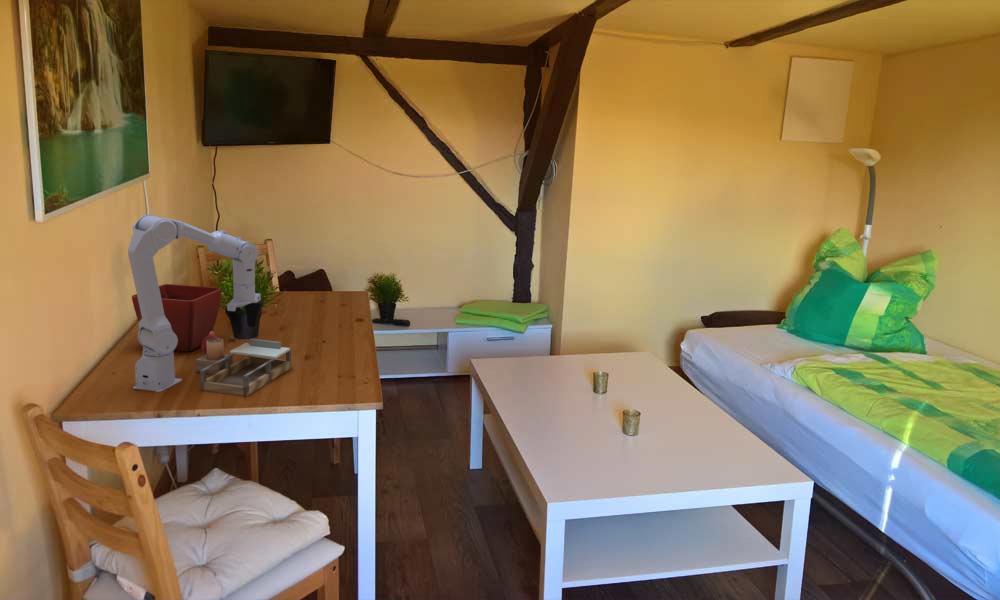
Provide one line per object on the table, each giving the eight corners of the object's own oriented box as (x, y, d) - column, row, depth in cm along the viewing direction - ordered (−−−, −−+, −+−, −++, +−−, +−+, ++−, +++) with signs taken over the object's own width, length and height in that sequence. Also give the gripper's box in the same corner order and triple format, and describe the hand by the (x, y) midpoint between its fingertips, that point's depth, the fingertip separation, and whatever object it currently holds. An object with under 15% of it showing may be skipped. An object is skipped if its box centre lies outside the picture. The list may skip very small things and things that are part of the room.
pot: (216, 361, 201) (215, 343, 200) (203, 358, 202) (202, 341, 201) (227, 356, 205) (226, 339, 204) (214, 354, 206) (214, 337, 205)
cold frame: (247, 397, 187) (246, 376, 186) (200, 391, 189) (200, 370, 188) (291, 368, 210) (290, 349, 209) (249, 363, 212) (249, 344, 211)
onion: (217, 361, 213) (217, 335, 211) (198, 360, 213) (197, 333, 211) (225, 355, 218) (225, 329, 216) (206, 354, 218) (205, 328, 217)
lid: (275, 358, 199) (275, 350, 199) (229, 353, 202) (229, 344, 201) (290, 350, 208) (290, 342, 207) (246, 344, 210) (245, 336, 209)
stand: (218, 376, 201) (218, 362, 200) (195, 373, 202) (195, 359, 201) (232, 368, 207) (232, 355, 206) (210, 365, 209) (209, 352, 208)
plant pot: (167, 334, 236) (165, 282, 232) (224, 338, 234) (223, 287, 230) (132, 351, 217) (129, 296, 213) (194, 356, 216) (192, 301, 212)
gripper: (243, 289, 198) (244, 338, 201) (270, 279, 212) (270, 325, 215) (219, 287, 200) (221, 335, 203) (247, 277, 213) (248, 322, 217)
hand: (245, 329), depth 209 cm, fingers open, 7 cm apart
